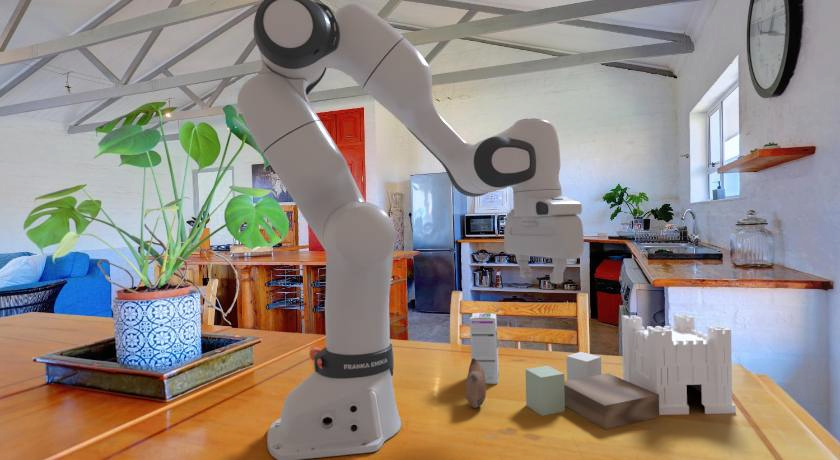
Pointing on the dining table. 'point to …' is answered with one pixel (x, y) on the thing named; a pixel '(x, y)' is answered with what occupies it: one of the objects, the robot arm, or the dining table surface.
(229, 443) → the dining table surface
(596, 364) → the grey block
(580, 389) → the walnut block
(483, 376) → the brown tapered rounded piece
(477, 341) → the syrup box
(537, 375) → the green block
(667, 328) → the castle model
